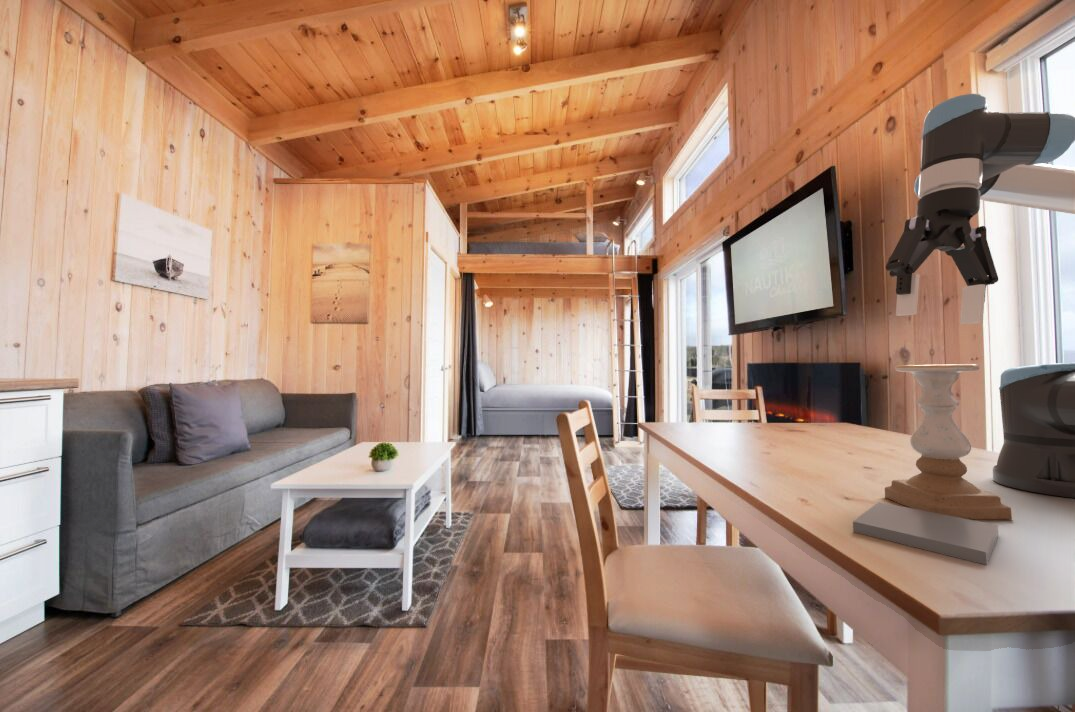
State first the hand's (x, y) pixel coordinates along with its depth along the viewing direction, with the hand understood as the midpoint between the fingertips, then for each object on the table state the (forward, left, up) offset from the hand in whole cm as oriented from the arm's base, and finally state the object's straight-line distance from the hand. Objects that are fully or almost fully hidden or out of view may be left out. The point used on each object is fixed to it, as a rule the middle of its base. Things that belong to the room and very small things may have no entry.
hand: (939, 319), depth 68 cm
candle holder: (+1, -1, -32) cm, 32 cm away
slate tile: (+13, +10, -31) cm, 35 cm away
